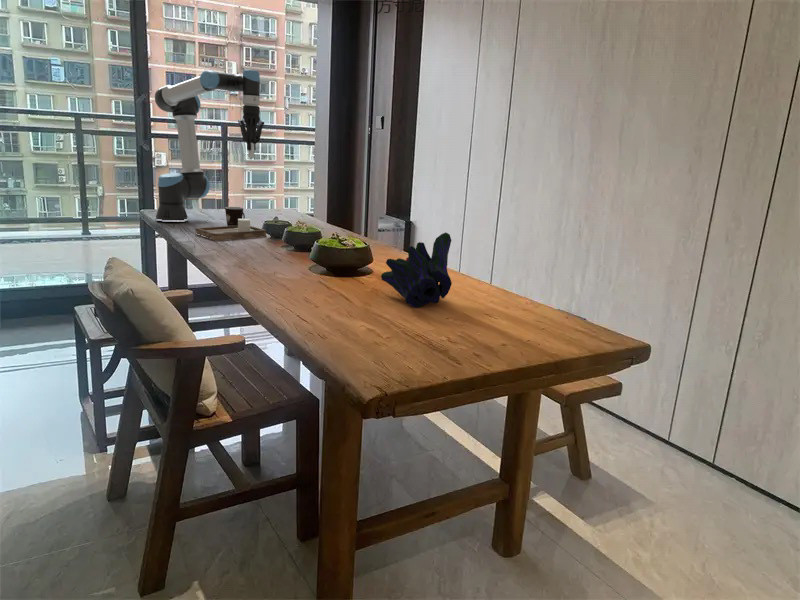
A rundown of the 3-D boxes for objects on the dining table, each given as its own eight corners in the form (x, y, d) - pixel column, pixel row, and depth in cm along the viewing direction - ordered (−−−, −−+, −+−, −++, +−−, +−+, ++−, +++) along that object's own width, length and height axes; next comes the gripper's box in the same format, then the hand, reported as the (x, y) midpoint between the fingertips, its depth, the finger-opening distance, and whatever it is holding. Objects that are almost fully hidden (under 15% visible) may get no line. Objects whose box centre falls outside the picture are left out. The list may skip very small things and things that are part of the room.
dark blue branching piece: (400, 335, 189) (386, 286, 215) (480, 307, 189) (457, 261, 214) (378, 281, 178) (366, 236, 203) (464, 250, 177) (441, 209, 203)
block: (238, 229, 289) (237, 218, 288) (249, 229, 291) (249, 218, 290) (239, 231, 285) (238, 220, 283) (250, 231, 286) (250, 220, 285)
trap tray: (195, 234, 280) (195, 228, 279) (246, 230, 298) (246, 224, 298) (214, 240, 269) (214, 234, 268) (266, 236, 287) (266, 230, 286)
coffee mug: (223, 227, 305) (223, 206, 302) (241, 227, 308) (241, 206, 306) (228, 231, 295) (227, 210, 292) (246, 230, 298) (246, 210, 296)
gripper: (243, 104, 280) (243, 157, 286) (267, 106, 289) (267, 158, 295) (234, 104, 285) (234, 156, 291) (259, 106, 294) (258, 157, 300)
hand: (251, 157), depth 293 cm, fingers closed
